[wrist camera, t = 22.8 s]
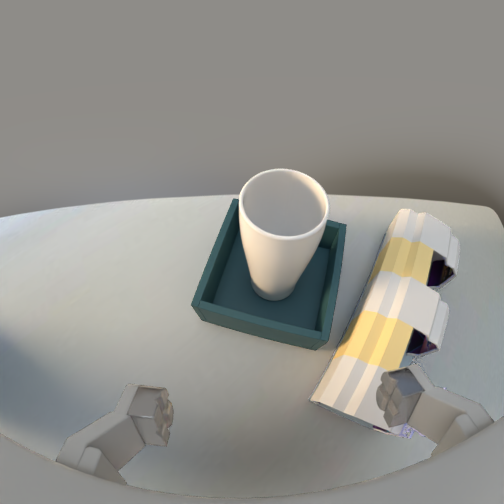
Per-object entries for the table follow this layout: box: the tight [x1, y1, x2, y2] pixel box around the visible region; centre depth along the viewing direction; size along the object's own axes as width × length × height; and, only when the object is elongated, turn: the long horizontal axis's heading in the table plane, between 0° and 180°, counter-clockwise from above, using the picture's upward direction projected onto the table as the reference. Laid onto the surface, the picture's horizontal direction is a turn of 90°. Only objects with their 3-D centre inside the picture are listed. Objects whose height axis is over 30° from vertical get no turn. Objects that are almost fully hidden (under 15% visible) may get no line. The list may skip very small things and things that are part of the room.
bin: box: [191, 199, 346, 350], centre depth 31 cm, size 14×14×6 cm
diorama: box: [308, 209, 460, 439], centre depth 24 cm, size 25×10×13 cm, turn 148°
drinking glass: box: [239, 169, 330, 301], centre depth 26 cm, size 7×7×15 cm
